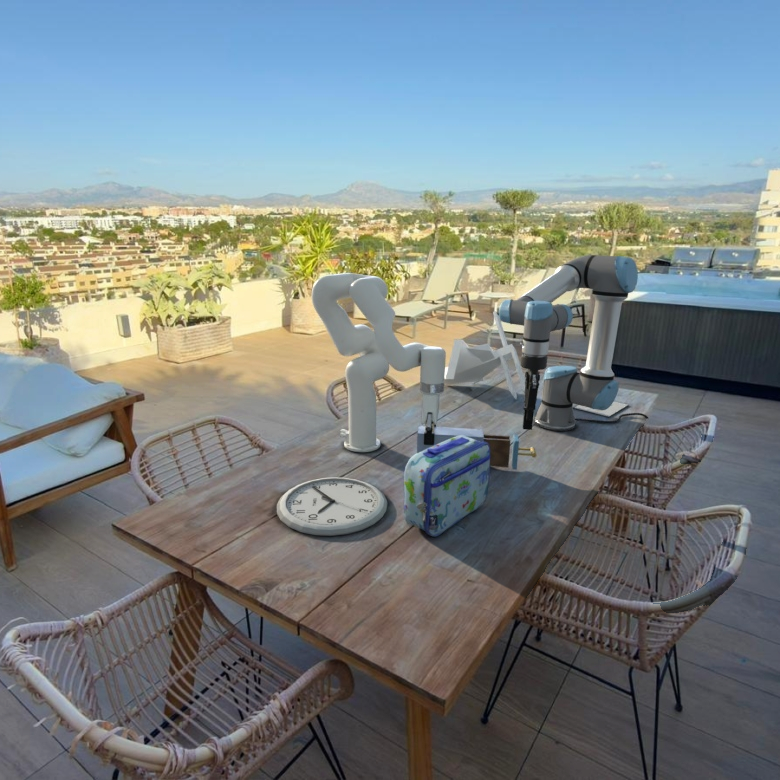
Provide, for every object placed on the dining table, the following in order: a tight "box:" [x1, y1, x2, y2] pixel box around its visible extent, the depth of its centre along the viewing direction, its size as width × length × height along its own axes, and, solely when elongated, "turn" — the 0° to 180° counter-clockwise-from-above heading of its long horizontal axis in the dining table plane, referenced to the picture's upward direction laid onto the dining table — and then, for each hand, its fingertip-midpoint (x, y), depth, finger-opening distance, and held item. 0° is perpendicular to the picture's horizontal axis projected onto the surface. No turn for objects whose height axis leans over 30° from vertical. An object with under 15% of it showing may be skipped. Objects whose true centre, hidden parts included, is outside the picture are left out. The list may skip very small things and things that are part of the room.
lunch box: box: [403, 435, 491, 538], centre depth 134 cm, size 26×11×21 cm, turn 134°
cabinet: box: [416, 425, 485, 454], centre depth 167 cm, size 20×7×11 cm, turn 82°
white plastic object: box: [444, 310, 526, 400], centre depth 245 cm, size 37×45×31 cm
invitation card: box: [573, 401, 629, 418], centre depth 226 cm, size 21×1×15 cm
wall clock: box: [276, 476, 388, 537], centre depth 142 cm, size 30×2×30 cm
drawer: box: [484, 433, 538, 471], centre depth 165 cm, size 25×5×10 cm, turn 82°
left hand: (429, 439), depth 167 cm, fingers closed on cabinet, 6 cm apart
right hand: (527, 428), depth 161 cm, fingers closed
